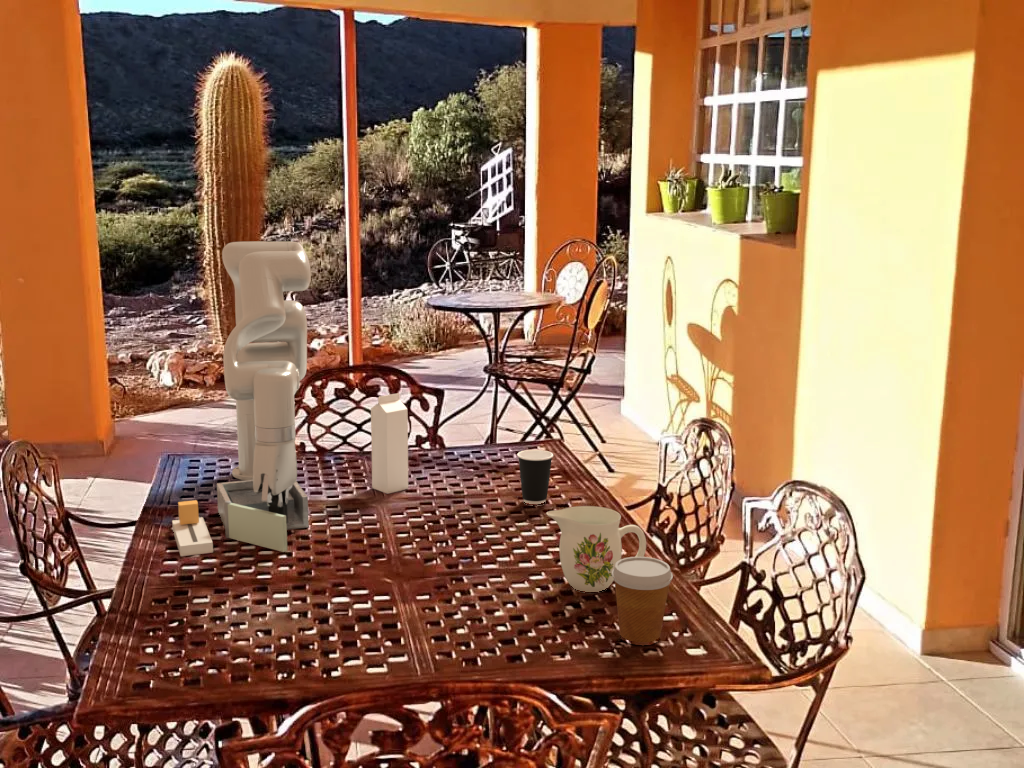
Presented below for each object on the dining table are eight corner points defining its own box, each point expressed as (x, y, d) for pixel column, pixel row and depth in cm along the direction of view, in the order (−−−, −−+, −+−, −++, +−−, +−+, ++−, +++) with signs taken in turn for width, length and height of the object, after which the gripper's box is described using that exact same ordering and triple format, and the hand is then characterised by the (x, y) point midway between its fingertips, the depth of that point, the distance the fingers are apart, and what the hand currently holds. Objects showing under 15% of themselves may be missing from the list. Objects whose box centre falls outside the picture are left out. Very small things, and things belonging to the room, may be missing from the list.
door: (229, 535, 216) (227, 500, 215) (288, 550, 208) (286, 514, 207) (224, 537, 215) (222, 502, 214) (282, 552, 207) (281, 516, 206)
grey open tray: (218, 512, 231) (216, 483, 229) (293, 504, 237) (292, 475, 235) (228, 536, 216) (227, 505, 215) (308, 527, 222) (307, 496, 221)
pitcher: (652, 595, 189) (654, 520, 186) (549, 599, 187) (551, 523, 184) (637, 572, 199) (639, 500, 197) (540, 576, 197) (541, 503, 194)
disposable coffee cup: (597, 637, 172) (599, 565, 170) (635, 620, 179) (637, 551, 176) (644, 657, 165) (647, 582, 163) (682, 638, 172) (685, 566, 170)
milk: (408, 489, 249) (408, 395, 244) (387, 494, 245) (386, 398, 240) (392, 483, 253) (392, 390, 249) (371, 488, 249) (370, 394, 245)
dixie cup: (559, 503, 239) (560, 455, 237) (531, 510, 234) (531, 461, 232) (537, 494, 245) (538, 447, 243) (509, 500, 241) (509, 452, 238)
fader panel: (172, 529, 220) (172, 520, 219) (203, 526, 222) (202, 516, 222) (180, 556, 205) (180, 545, 205) (213, 552, 208) (212, 541, 207)
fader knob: (179, 521, 218) (178, 502, 217) (197, 519, 219) (196, 500, 219) (180, 524, 216) (179, 505, 215) (198, 522, 217) (198, 503, 217)
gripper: (275, 422, 216) (278, 510, 219) (238, 441, 201) (242, 535, 205) (310, 425, 214) (312, 514, 218) (275, 444, 200) (278, 539, 204)
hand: (278, 524), depth 211 cm, fingers closed
